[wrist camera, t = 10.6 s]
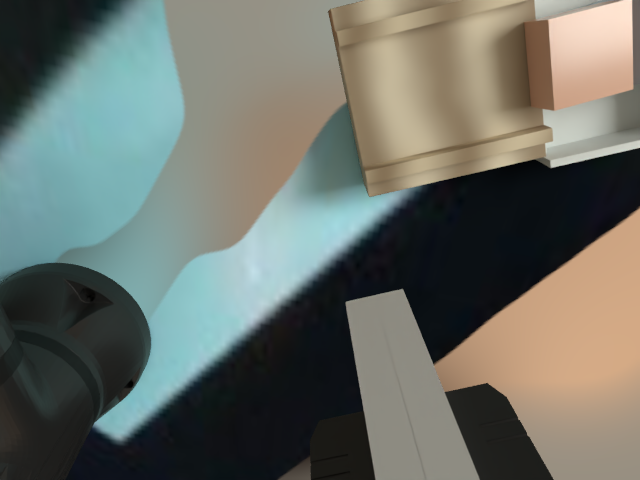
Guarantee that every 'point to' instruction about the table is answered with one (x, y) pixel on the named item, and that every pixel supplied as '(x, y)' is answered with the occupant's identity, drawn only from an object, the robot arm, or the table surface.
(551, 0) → the tray
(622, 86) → the terracotta tile
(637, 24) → the slate tile
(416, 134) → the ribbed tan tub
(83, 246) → the table surface
